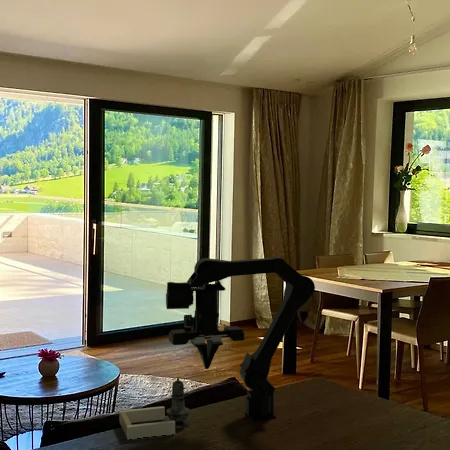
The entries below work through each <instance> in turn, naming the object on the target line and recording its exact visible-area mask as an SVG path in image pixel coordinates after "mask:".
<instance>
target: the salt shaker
mask: <svg viewBox="0 0 450 450" xmlns="http://www.w3.org/2000/svg"><path fill="white" fill-rule="evenodd" d="M171 386H172V387H171V388H172V389H171V392H172V393H171V394H170V397H171V407H170V408H167V409H166V410H165V413H167V417H168V419H169V421H173V420H174V421H175V428H180V429H184V427H185V428H187V427H189V426H190V423H189V422H187V421H186V420H187V419H188V417H189V413H191V409H190V408H188V407H186V406H185V397H186V394H185V391H184V390H185V384H184V382H183V381H181V380H180V378H179V377H177V378H176V380H175V381H173V382H172V385H171ZM188 425H189V426H188Z"/></svg>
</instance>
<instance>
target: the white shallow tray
mask: <svg viewBox="0 0 450 450" xmlns="http://www.w3.org/2000/svg"><path fill="white" fill-rule="evenodd" d="M161 420H162V421H161ZM163 420H165V421H163ZM152 421H155V422H152ZM156 421H158V422H156ZM143 422H148V423H143ZM134 423H138V424H134ZM119 425H120V426H121V428H122V431H123V432H124V435H125V437H126V439H127V440H128V441H130V440H129V439H132V440H138V439H137V438H141V439H144V438H143V437H149V438H152V437H151V436H157V437H163V436H162V435H166V436H173V435H172V434H174V435H176V429H175V421H174V420H173V421H171V420H167V421H166V408H165V406H153V407H145V408H136V409H135V408H133V409H126V410H124V409H123V410H119Z"/></svg>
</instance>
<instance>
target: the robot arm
mask: <svg viewBox="0 0 450 450" xmlns="http://www.w3.org/2000/svg"><path fill="white" fill-rule="evenodd" d="M193 269H194V271H193V273H192V274H191V275H190V277H189V278H188V280H187V281H185V282H174V281H168V282H167V283H166V285H167V286H166V293H165V306H166V310H184V309H186V310H188V309H190V307H192V305H195V307H194V309H195V310H194V316H193V315H192V314H184V315H183V327H184V328H190V331H191V332H188V331H187V330H186V329H184V328H183V329H182V328H181V329H171V330H170V331H169V332H168V341H169V342H170V343H171V344H172V345H174V346H181V345H187V344H188V343H189V341H190V344H192V345H193V346H194V347H196V348H197V350H198V353H199V355H200V358H201V362H202V364H203V366H204V369H205V370H209V369H210V367H211V364H212V362H213V360H214V357H215V355H216V353H217V351H218V349H219V348H220V346H223V345H224V342H223V341H222V340H223V339H227V338H229V339H230V340H231V341H233V342H238V341H239V342H241V341H245V331H244V329H242V328H241V327H239V326H237V325H233V326H224V328H223V330H222V329H221V330H219V328H218V327H219V323H218V321H219V316H220V314H219V312H218V311H219V308H218V307H219V304H218V303H219V299H218V296H219V295H218V294H219V293H218V292H219V291H221V292H222V291H223V292H224V291H226V287H224V285H223V284H222V283H221V280H225V279H228V278H231V277H236V276H249V275H250V276H251V275H261V274H274V273H275V274H276V275H277V276H278V277H279V278H280V279H281V280H282V282H284V283H285V284H286V285H285V288H284V292H283V298H282V302H281V304H280V306H279V308H278V310H277V312H276V314H275V316H274V317H273V319H272V321H271V323H270V325H269V326H268V329H267V331H266V333H265V334H264V336H263V337H262V340H261V341H260V343H259V345H258V346H257V349H256V350H255V351H254V352H253V353H252V354H250V353H249V352H246V354H245V356H244V359H243V361H242V362H241V363H240V364H239V367H240V369H239V375H240V378H241V380H242V381H243V383H244V384H245V386H246V388H248V389H249V390H246V391H247V392H246V393H247V395H246V397H245V399H244V400H245V404H244V405H245V406H244V407H245V411H244V413H245V414H246V415H247V416H248V417H250V418H251V419H252V420H253V421H256V420H263V419H273V418H276V417H277V414H275V410H274V409H275V408H274V406H275V403H274V402H275V401H274V399H275V395H274V394H275V393H274V392H275V390H276V388H275V386H274V385H273V384H272V382H270V380H269V379H268V377H269V374H270V371H271V370H270V368H271V365H272V364H271V363H272V359H273V357H274V354H275V353H276V352H277V350H278V347H280V344H281V342H282V340H283V339H284V337H285V334H286V333H287V330H288V329H289V327H290V325H291V324H292V321H293V320H294V318H295V316H296V314H297V312H298V311H299V310H300V309H301V308H302V307H304V305H306V303H307V302H308V301H309V300H310V298H311V297H312V296H313V294H314V293H315V291H316V286H315V282H314V281H313V279H312V278H310V277H309V276H306V275H304V274H301V273H299V272H298V271H297V270H296V269H294V268H293V267H292V266H291V265H290V264H289V263H287V262H286V260H285V259H284V258H282V257H280V256H273V257H264V258H263V257H262V258H252V259H251V258H250V259H249V258H248V259H238V260H225V259H218V258H207V257H203V258H200V259H199V260H197V262H195V265H194V267H193ZM194 293H195V300H194ZM194 301H195V304H194ZM205 340H206V342H205Z"/></svg>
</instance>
